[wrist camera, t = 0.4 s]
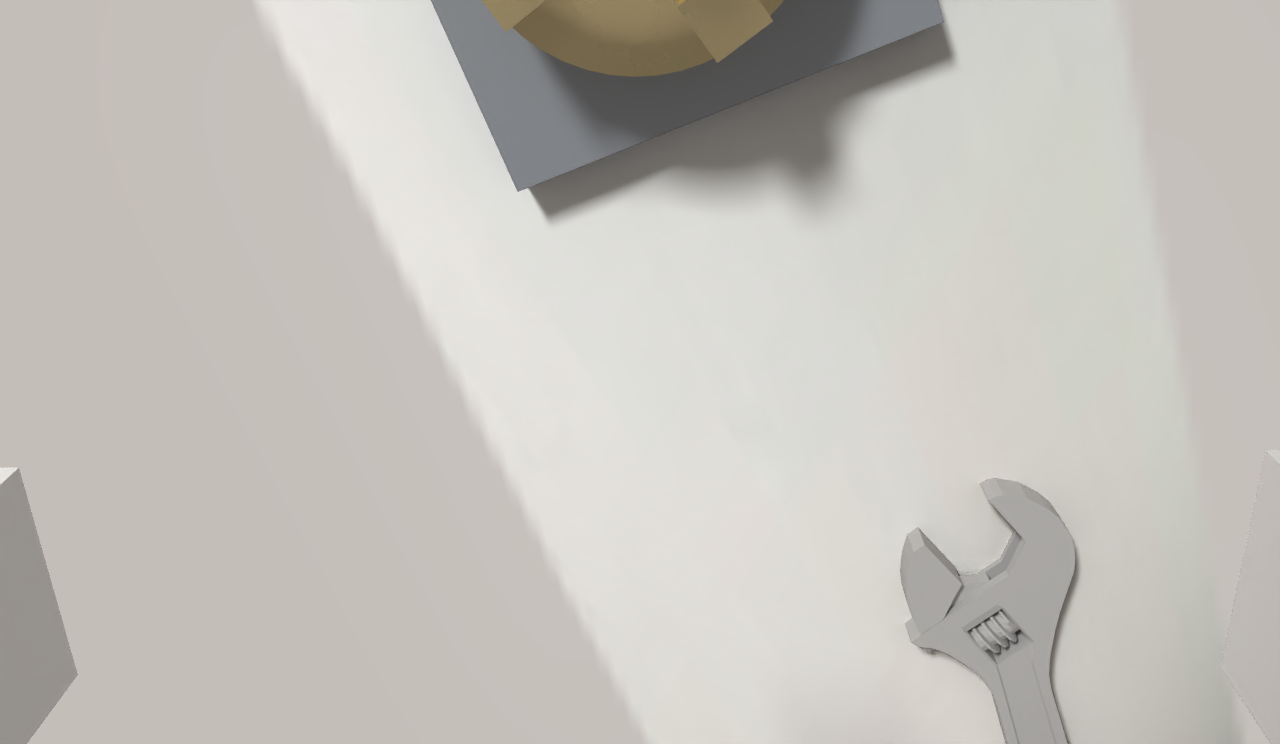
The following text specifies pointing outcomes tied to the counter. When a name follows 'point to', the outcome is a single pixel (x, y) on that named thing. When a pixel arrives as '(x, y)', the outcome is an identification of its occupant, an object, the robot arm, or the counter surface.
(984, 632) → the adjustable wrench
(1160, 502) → the counter surface
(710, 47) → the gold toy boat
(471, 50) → the base
